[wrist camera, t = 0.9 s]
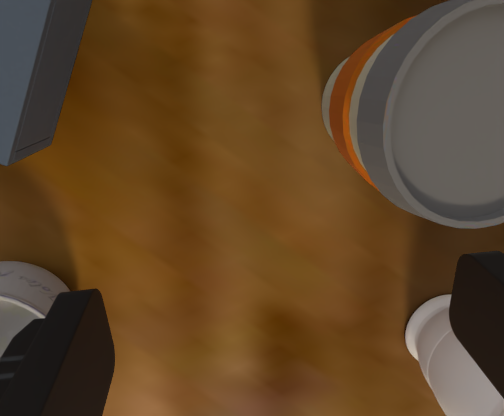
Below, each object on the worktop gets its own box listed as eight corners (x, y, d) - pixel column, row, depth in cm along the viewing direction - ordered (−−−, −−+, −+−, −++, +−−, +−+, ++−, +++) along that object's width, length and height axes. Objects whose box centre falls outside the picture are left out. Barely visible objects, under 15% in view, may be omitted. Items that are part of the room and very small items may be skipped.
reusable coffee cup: (366, 203, 39) (470, 275, 24) (270, 107, 35) (327, 127, 21) (467, 100, 37) (640, 113, 23) (378, -11, 33) (519, -78, 19)
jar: (505, 317, 45) (652, 428, 31) (438, 385, 46) (549, 521, 32) (443, 264, 42) (575, 360, 28) (374, 339, 43) (465, 466, 29)
